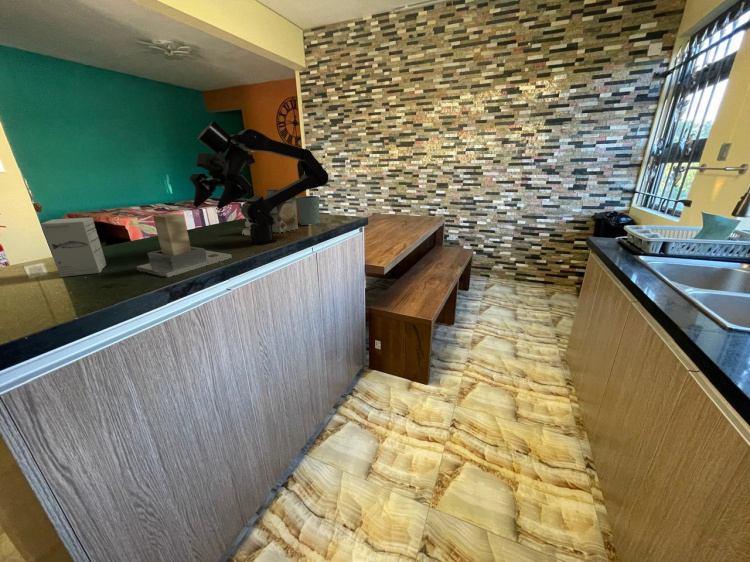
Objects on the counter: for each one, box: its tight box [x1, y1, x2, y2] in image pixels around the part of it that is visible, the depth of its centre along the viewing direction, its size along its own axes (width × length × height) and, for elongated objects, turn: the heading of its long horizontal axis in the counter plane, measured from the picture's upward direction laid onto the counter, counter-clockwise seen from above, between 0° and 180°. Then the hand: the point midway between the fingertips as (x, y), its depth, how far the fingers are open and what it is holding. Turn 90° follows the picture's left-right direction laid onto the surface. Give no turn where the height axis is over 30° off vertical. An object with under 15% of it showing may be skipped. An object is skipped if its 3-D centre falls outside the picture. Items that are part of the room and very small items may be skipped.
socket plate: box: [135, 245, 232, 278], centre depth 80 cm, size 18×12×4 cm, turn 155°
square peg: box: [152, 212, 192, 256], centre depth 77 cm, size 5×5×12 cm
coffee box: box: [265, 188, 299, 234], centre depth 121 cm, size 9×6×16 cm
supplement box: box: [41, 217, 107, 278], centre depth 73 cm, size 7×7×13 cm
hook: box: [239, 208, 252, 236], centre depth 116 cm, size 8×12×7 cm
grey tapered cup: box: [295, 195, 320, 225], centre depth 135 cm, size 10×10×12 cm
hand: (206, 207), depth 85 cm, fingers open, 9 cm apart
